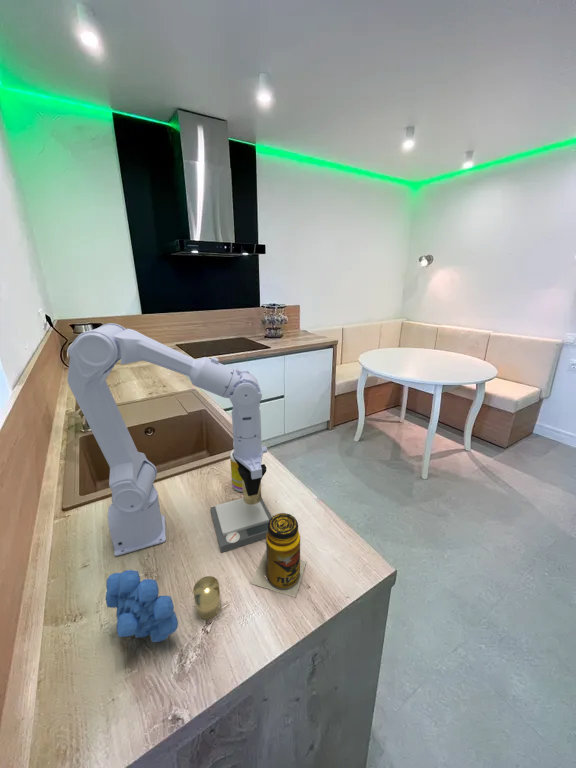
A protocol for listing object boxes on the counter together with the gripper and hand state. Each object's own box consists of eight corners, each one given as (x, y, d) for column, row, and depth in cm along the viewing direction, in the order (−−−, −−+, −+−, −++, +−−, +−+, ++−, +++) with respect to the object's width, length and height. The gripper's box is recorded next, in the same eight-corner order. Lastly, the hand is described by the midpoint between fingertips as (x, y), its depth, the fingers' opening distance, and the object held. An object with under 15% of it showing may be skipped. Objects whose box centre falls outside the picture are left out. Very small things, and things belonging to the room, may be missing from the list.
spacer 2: (263, 502, 67) (262, 484, 66) (245, 506, 66) (244, 488, 64) (259, 490, 71) (258, 473, 69) (241, 494, 69) (240, 477, 68)
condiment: (295, 597, 53) (296, 543, 49) (250, 584, 55) (247, 530, 51) (306, 562, 59) (307, 511, 55) (265, 551, 62) (263, 502, 58)
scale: (221, 553, 61) (220, 544, 60) (211, 513, 72) (210, 505, 71) (277, 534, 66) (277, 526, 65) (260, 499, 76) (259, 491, 75)
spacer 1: (197, 624, 49) (194, 603, 47) (194, 601, 52) (191, 581, 51) (223, 614, 50) (221, 593, 49) (218, 592, 54) (216, 572, 52)
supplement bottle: (255, 493, 78) (253, 449, 74) (229, 493, 78) (226, 448, 74) (258, 477, 85) (257, 435, 80) (234, 477, 85) (231, 435, 81)
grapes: (92, 652, 45) (74, 593, 41) (127, 607, 51) (113, 552, 47) (161, 678, 42) (148, 616, 38) (189, 627, 48) (180, 569, 44)
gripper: (276, 445, 58) (278, 504, 62) (257, 415, 71) (259, 466, 75) (239, 452, 55) (243, 513, 60) (226, 419, 68) (230, 472, 73)
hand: (250, 487), depth 67 cm, fingers closed on spacer 2, 4 cm apart
